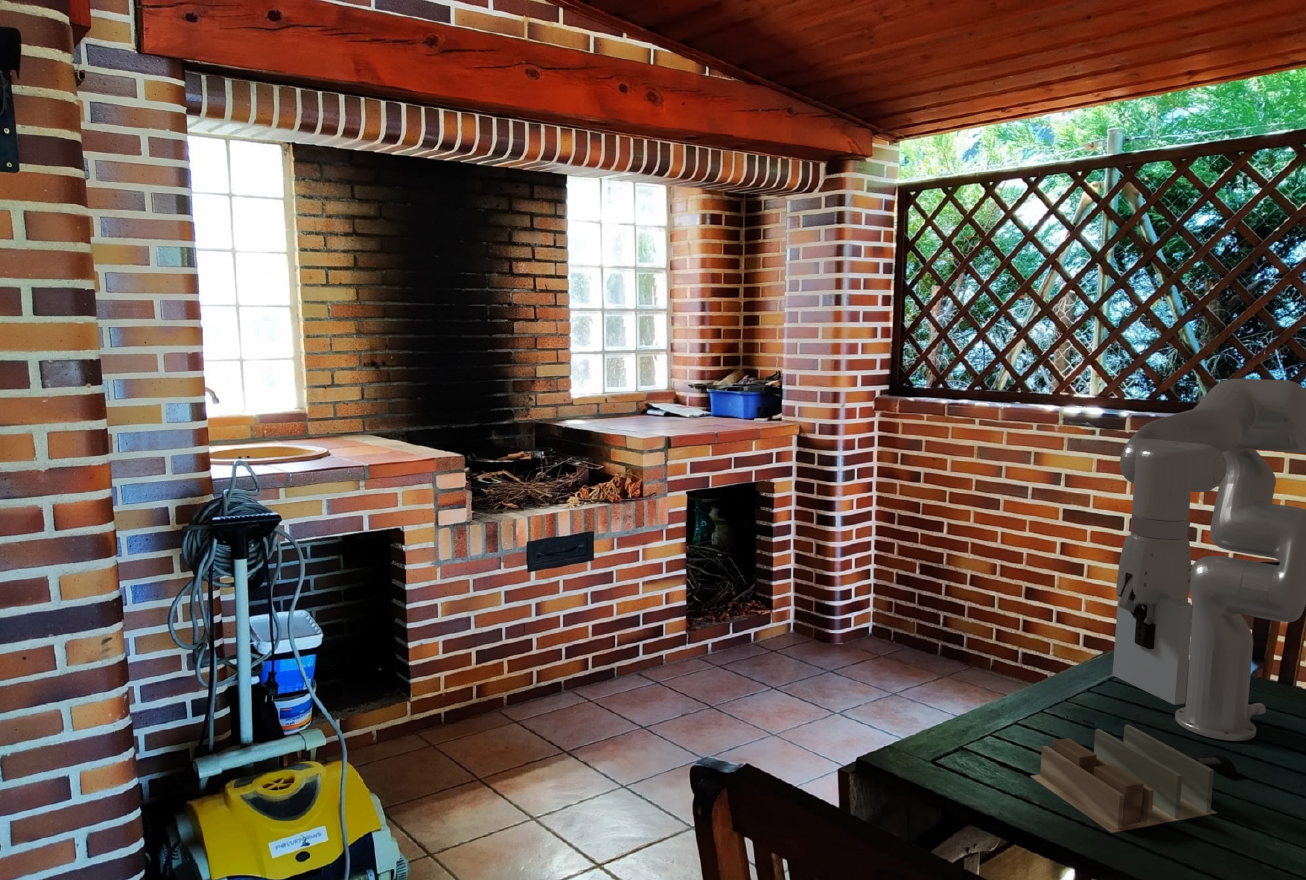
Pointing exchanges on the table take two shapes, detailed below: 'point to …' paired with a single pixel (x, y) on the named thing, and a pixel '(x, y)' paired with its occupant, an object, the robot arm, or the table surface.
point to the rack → (1165, 772)
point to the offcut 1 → (1075, 754)
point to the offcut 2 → (1124, 790)
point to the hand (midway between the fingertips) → (1150, 645)
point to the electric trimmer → (1218, 764)
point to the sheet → (1156, 651)
